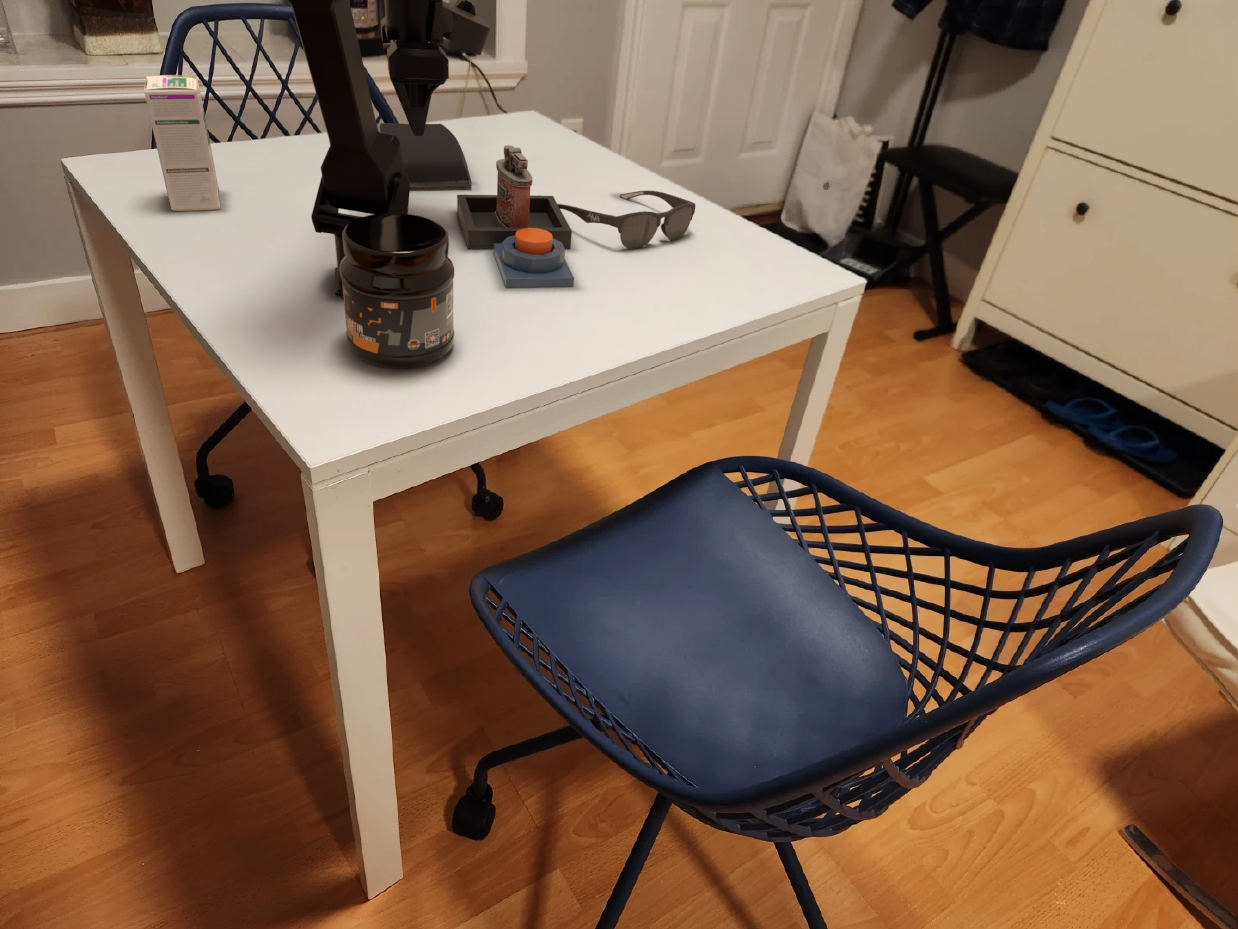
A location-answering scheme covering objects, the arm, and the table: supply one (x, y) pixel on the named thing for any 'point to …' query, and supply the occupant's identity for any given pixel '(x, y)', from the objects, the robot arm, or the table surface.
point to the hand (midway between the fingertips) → (415, 123)
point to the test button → (533, 241)
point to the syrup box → (182, 142)
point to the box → (532, 266)
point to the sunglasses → (643, 219)
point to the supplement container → (397, 289)
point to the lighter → (513, 189)
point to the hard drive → (430, 156)
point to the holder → (485, 231)
